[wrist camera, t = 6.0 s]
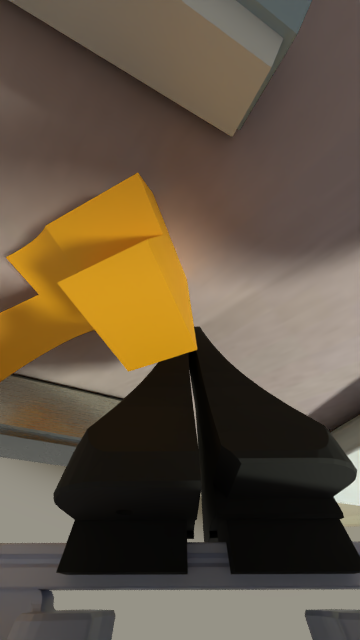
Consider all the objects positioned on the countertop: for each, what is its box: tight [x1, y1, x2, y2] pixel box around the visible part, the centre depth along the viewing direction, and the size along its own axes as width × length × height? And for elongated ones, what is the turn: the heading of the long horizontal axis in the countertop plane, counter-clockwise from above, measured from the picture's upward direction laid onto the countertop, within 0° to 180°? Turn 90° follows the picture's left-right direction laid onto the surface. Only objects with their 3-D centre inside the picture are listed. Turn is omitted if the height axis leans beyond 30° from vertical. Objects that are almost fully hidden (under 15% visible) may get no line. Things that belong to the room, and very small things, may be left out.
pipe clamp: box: [0, 173, 197, 382], centre depth 7 cm, size 12×4×6 cm, turn 112°
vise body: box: [0, 374, 122, 466], centre depth 13 cm, size 10×4×4 cm, turn 68°
